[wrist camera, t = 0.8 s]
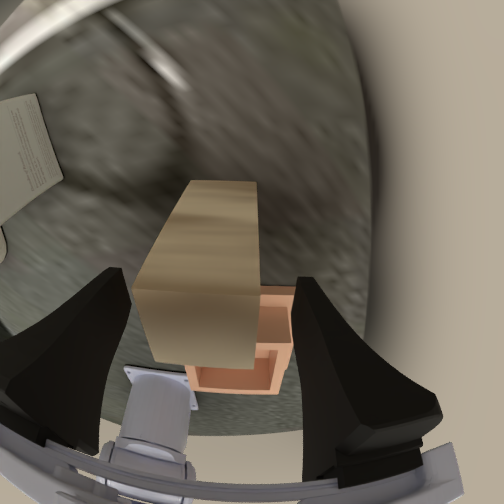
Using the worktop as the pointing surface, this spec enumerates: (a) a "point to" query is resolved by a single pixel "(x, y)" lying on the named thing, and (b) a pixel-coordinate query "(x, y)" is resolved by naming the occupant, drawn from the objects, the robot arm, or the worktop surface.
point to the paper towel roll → (2, 246)
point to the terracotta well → (256, 351)
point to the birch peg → (204, 279)
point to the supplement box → (24, 155)
